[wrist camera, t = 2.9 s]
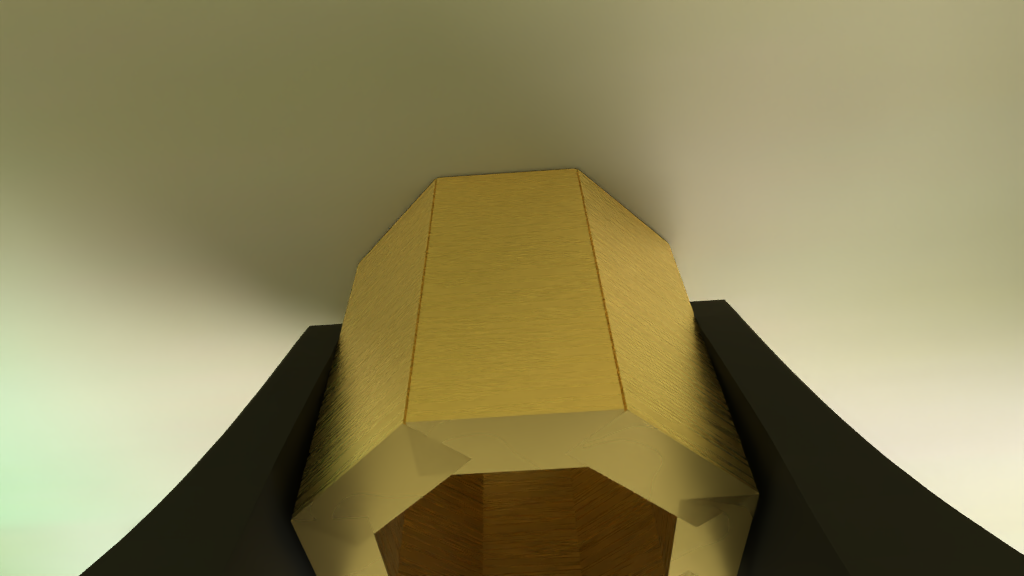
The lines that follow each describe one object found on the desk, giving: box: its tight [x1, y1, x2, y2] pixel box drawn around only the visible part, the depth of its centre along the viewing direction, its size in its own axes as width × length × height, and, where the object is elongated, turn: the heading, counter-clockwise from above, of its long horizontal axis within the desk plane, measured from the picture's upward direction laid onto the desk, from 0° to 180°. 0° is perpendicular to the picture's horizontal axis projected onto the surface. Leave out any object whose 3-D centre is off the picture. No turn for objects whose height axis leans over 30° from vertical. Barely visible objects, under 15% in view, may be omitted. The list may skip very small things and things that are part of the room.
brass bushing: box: [291, 168, 759, 576], centre depth 10 cm, size 5×5×5 cm
